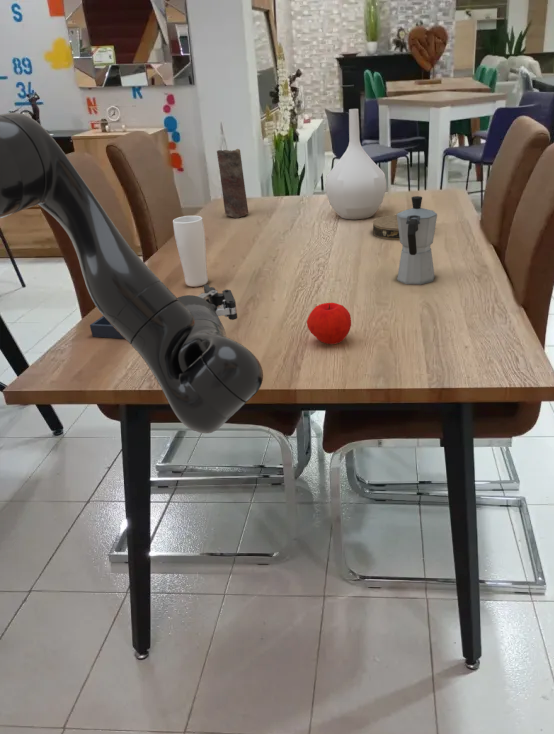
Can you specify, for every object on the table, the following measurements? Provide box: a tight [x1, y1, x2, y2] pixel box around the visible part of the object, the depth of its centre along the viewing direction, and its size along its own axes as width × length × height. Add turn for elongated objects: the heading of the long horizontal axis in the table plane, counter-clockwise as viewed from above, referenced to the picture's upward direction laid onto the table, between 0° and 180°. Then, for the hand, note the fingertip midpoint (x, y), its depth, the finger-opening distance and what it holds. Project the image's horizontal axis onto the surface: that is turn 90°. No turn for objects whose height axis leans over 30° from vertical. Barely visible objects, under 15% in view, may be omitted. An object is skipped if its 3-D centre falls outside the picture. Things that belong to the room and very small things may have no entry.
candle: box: [216, 148, 249, 219], centre depth 215 cm, size 8×7×20 cm
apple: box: [306, 302, 352, 345], centre depth 125 cm, size 8×8×7 cm
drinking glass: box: [172, 215, 209, 288], centre depth 158 cm, size 7×7×15 cm
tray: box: [89, 315, 126, 340], centre depth 141 cm, size 16×13×2 cm
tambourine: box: [372, 214, 400, 241], centre depth 191 cm, size 16×16×3 cm
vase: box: [324, 108, 387, 221], centre depth 204 cm, size 18×18×30 cm
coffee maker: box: [396, 195, 438, 286], centre depth 151 cm, size 15×9×18 cm, turn 165°
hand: (177, 295), depth 102 cm, fingers open, 8 cm apart
